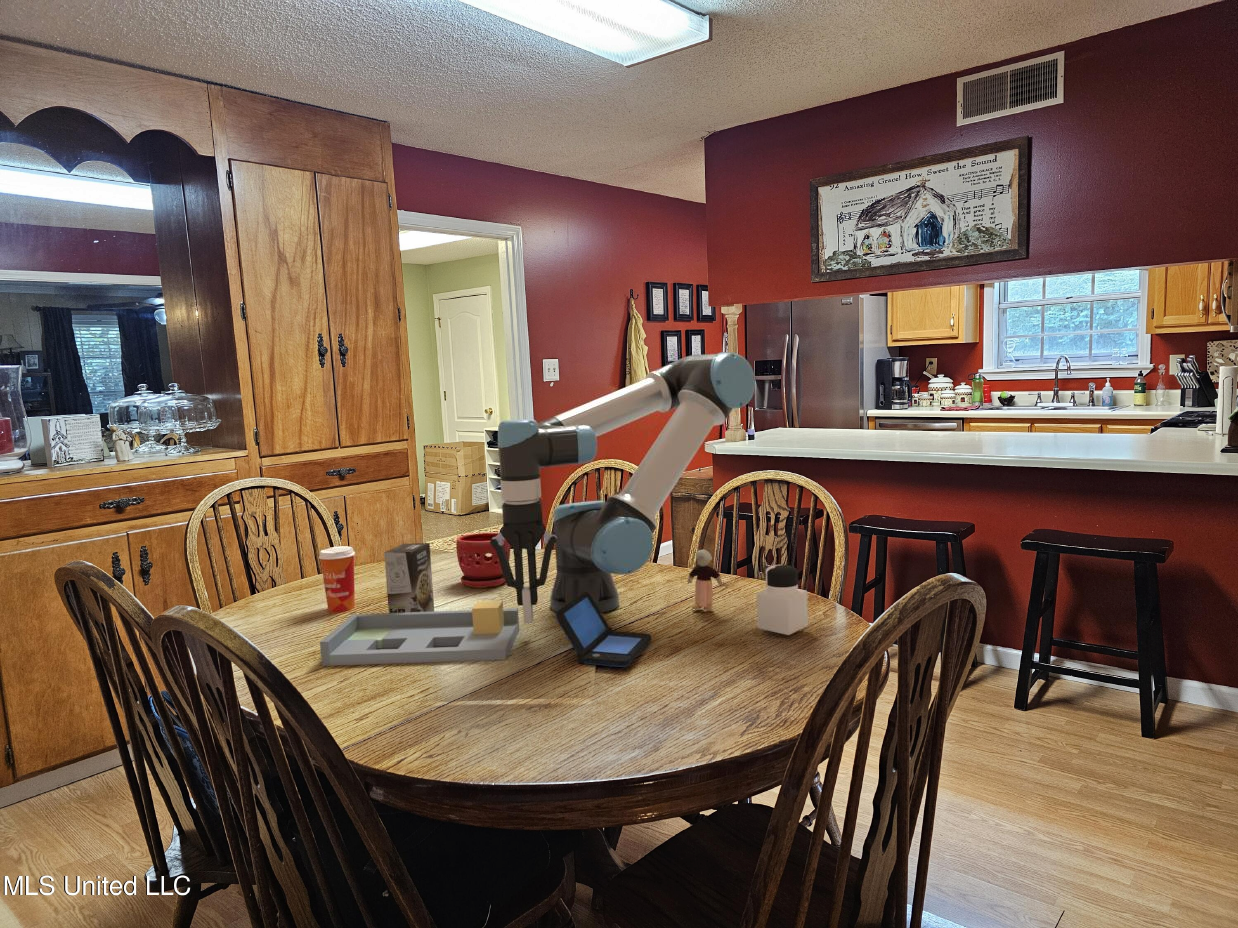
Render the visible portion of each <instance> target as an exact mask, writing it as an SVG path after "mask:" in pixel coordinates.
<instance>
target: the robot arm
mask: <svg viewBox="0 0 1238 928" xmlns="http://www.w3.org/2000/svg"><path fill="white" fill-rule="evenodd" d="M755 390H756V380H755V373H754V369H753V367H752V366H751V364H750V363H749V361H748V360H747V359H746V358H745V357H744V356H742V355H741V354H738V353H734V352H727V351H724V352H723V351H722V352H718V353H711V354H709V353H708V354H691V355H688V356H687V355H686V356H685V357H682V358H680V359H677V360H674V361H673V362H670V363H668V364H666V365H664V366H662V367H659V368H657V369H656V370H652V371H650V372H648V373H647V374H646V376H645V377H644V379H643V380H641V381H637V382H636V383H635V382H634V383H632V384H630V385H627V386H626V387H623V388H621V389H619V390H616V391H613V392H611V393H609V394H606V395H603V396H601V397H599V398H596V399H593V400H591V401H589V402H587V403H585V404H582V405H579V406H576V407H574V408H572V409H569V410H567V411H564V412H562V413H560V414H558V415H557V414H556V415H555V416H552V417H550V418H546V419H544V420H542V421H539V422H538V421H536V420H535V419H533V418H528V419H527V418H525V419H522V418H521V419H509V420H502V421H501V422H500V423H499V425H498V427H497V447H498V449H497V450H498V460H499V461H498V462H499V471H500V474H499V475H500V493H501V495H500V496H501V497H500V499H501V500H502V501H504V502H503V503H502V505H501V509H502V511H501V514H502V527H501V529H500V532H499V533H500V534H499V535H497V536H496V537H493V538H492V539H491V541H490V544H491V545H492V546H493V548H494V549H495V550H496V553H497V556H498V559H499V562H500V566H501V569H502V572H503V575H504V578H505V582H504V583H505V584H506V586H507V587H508V588H513V589H515V590H516V603H517V606H519V607H520V606H522V611H523V613H522V614H523V624H532V623H533V621H534V608H533V607H534V606H537V603H538V599H539V598H538V596H539V595H538V588H539V587H542V586H544V585H545V584H546V582H547V578H548V573H549V572H548V571H549V566H550V561H551V556H552V553H553V547H554V550H555V567H556V573H555V574H556V575H555V579H554V582H553V586H552V589H551V594H550V597H549V601H550V606H549V607H550V609H551V610H552V611H554V612H555V613H556V612H557V611H558V610H560V609H561V608H563V607H564V606H565V605H567V604H568V603H570V602H571V601H573V600H574V599H575V598H577V597H578V596H580V595H581V594H582V593H584V592H587V593H589V594H590V596H591V597H592V599H593V601H594V602H595V604H596V606H597V607H598V609H599V610H600V613H601V614H602V613H607V612H609V611H612V610H615V609H616V608H618V606H619V605H620V597H619V592H618V588H617V586H616V584H615V581H614V578H613V574H614V575H620V576H622V575H623V576H625V575H629V574H633V573H636V572H637V571H638V570H640V569H641V568H643V567H644V566H645V565H646V564H647V562H648V561H649V559H650V557H651V556H652V553H653V550H654V544H653V541H654V535H653V533H654V532H655V530H656V529H657V527H658V526H657V522H656V515H657V514H658V512H659V511H660V509H661V508H662V506H663V505H664V503H665V501H666V500H667V498H668V497H669V495H670V494H671V493H672V491H673V489H674V488H675V486H676V484H677V483H678V482H679V480H680V478H681V477H682V475H683V474H684V473H685V471H686V469H687V467H688V466H689V464H690V463H691V461H692V460H693V458H694V457H695V455H697V452H698V450H699V449H700V447H701V446H702V444H703V443H704V441H705V440H706V438H707V437H708V435H709V434H710V432H711V431H712V429H713V428H714V427H715V426H719V425H720V426H721V425H723V424H725V422H726V421H727V419H728V417H729V416H730V414H731V413H732V411H733V409H740V408H743V407H745V406H746V405H747V404H749V402H750V401H751V400H752V398H753V396H754V393H755ZM671 410H674V412H673V414H672V416H670V418H669V420H668V421H667V423H666V424H665V426H664V427H663V429H662V430H661V432H660V433H659V434H658V436H657V438H656V439H655V440H654V442H653V444H652V445H651V447H650V449H649V450H648V451H647V453H646V454H645V456H644V457H643V459H642V461H641V462H640V463H639V465H638V466H637V468H636V469H635V471H634V472H633V474H632V476H631V477H630V479H629V480H628V482H627V483H626V484H625V486H624V488H623V489H622V490H621V492H620V493H619V494H613V495H609V497H608V498H607V500H606V501H604V500H590V501H589V500H588V501H581V502H573V503H565V504H560V505H558V506H555V508H554V510H553V520H552V524H553V532H554V534H553V533H551V532H549V531H548V530H547V528H546V526H545V524H544V521H543V503H542V501H541V500H539V499H541V498H542V489H541V488H542V487H541V486H542V485H541V468H549V467H559V466H570V465H578V466H579V465H581V464H585V463H591V462H592V461H593V460H594V459H595V458H596V455H597V454H598V453H597V452H598V440H597V437H599V436H601V435H604V434H606V433H608V432H611V431H613V430H615V429H618V428H620V427H622V426H625V425H626V424H627V425H628V424H629V423H631V422H634V421H636V420H637V421H638V419H641V418H644V417H646V416H648V415H650V414H653V413H654V412H657V411H658V412H660V413H666V412H668V411H671ZM504 538H505V540H506V541H507V542H508V543H509V545H510V548H512V549H513V550H512V551H513V552H512V553H513V560H514V561H513V562H514V574H513V571H512V567H511V564H510V560H509V561H508V558H507V554H506V551H505V548H504V546H503V544H504ZM542 538H544V540H543V542H544V545H545V547H544V552H543V557H542V562H541V567H540V572H539V578H538V573H537V571H538V570H537V558H536V557H537V556H536V548H537V545H538V544H539V543H540V541H541V540H542ZM523 550H526V555H527V567H528V568H527V569H528V586H525V581H524V580H525V579H524V578H525V577H524V561H523V560H524V559H523ZM514 576H515V577H514Z"/></svg>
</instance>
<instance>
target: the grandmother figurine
mask: <svg viewBox="0 0 1238 928" xmlns="http://www.w3.org/2000/svg"><path fill="white" fill-rule="evenodd" d="M695 556H696V557H695V558H696V562H697V565H696V566H695V567H693V568H692V569H691V571H690V572H689V575H688V579H687V580H686V581H687V583H688V584H692V582H693V580H694V578H695V577H696V579H695V589H694V590H695V592H694V593H695V594H694V604H693V605H692V606H691V609H693V610H700V609H703V611H711V610H713V609H714V606H713V598H714V596H713V594H714V591H713V589H714V588H713V582H712V580H716V581H717V585H723V582H724V581H723V580H722V578H721V574H720V573H719V572H718V571H717V570H716V569H715V568H714V567H713V566H710V565H709V564H710V562H711V561H712V559H713V557H712V554H711V553H710V552H709V551H707V550H706V549H699V550H697V552H696V554H695ZM712 578H713V579H712Z"/></svg>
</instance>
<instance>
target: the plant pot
mask: <svg viewBox="0 0 1238 928" xmlns="http://www.w3.org/2000/svg"><path fill="white" fill-rule="evenodd" d="M500 533H501V532H482V533H481V532H480V533H471V534H469V533H468V534H465V535H460V536H458V537H457V538H456V544H455V545H456V547H455V548H456V557H457V562H458V565H459V568H460V571H461V572H462V574H463V575H462V576H461V577H460V582H461V583H462V584H463V585H464V586H466V587H469V588H473V589H474V588H475V589H486V588H487V589H488V588H493V587H498V586H500V585H502V584H504V583H506V582H505V578H504V575H503V572H502V569H501V566H500V562H499V559H498V556H497V553H496V550H495V549H494V548H493V546H492V545H491V544H490V541H491V539H492V538H493V537H496V536H497V535H499V534H500ZM503 546H504V548H505V551H506V554H507V558H508V561H509V562H510V558H511V546H510V545H509V543H508V542H507V541H506V540H505V538H504V544H503ZM487 554H490V556H488V555H487Z"/></svg>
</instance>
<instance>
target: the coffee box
mask: <svg viewBox="0 0 1238 928" xmlns="http://www.w3.org/2000/svg"><path fill="white" fill-rule="evenodd" d="M430 545H431V544H430V542H412V543H402V544H400V545H397V546H395V547H393V548H391V549H389V550H386V551H384V553H383V555H384V566H385V579H386V581H385V583H386V595H387V607H388V613H404V612H432V611H435V599H434V590H433V589H434V588H433V586H434V585H433V574H432V573H433V572H432V561H431V560H432V558H431V546H430Z"/></svg>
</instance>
